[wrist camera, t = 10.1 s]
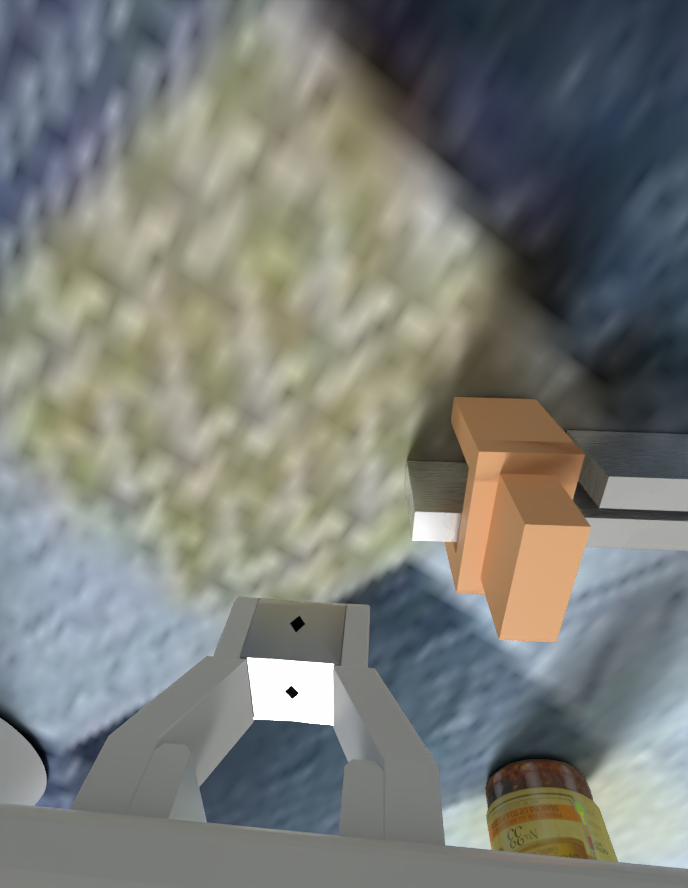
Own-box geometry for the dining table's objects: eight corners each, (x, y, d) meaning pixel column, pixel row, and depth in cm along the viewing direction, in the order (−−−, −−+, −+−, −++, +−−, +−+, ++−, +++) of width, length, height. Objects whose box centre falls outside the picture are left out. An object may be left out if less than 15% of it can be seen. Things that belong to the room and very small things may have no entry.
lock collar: (438, 517, 20) (470, 655, 14) (453, 396, 18) (501, 499, 11) (510, 519, 20) (575, 660, 14) (536, 399, 17) (627, 503, 11)
